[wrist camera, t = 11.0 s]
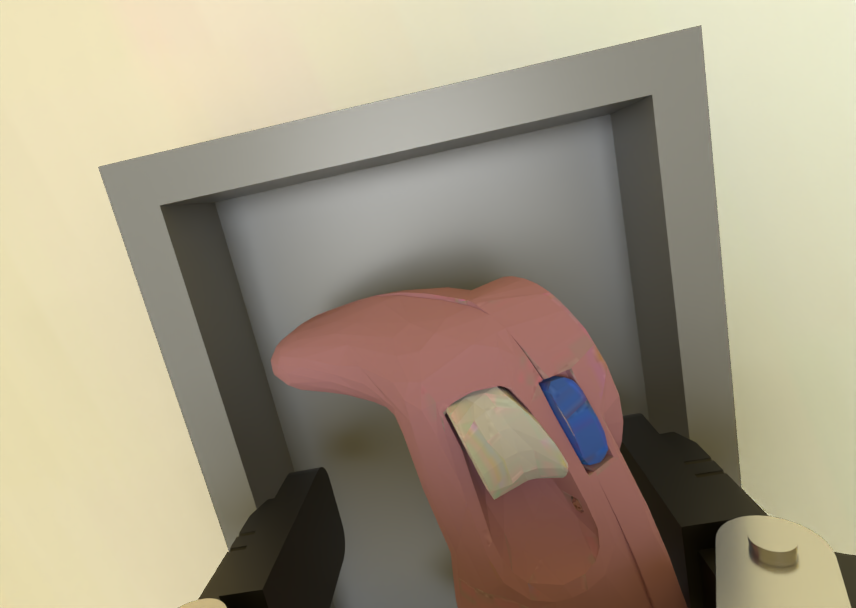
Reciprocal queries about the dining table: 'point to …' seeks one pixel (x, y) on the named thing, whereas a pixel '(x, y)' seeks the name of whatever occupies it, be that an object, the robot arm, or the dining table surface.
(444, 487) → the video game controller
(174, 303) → the charcoal tray
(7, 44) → the dining table surface
